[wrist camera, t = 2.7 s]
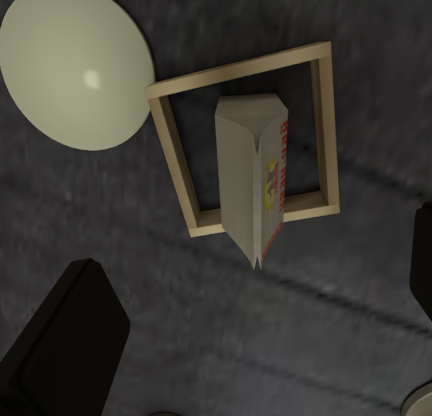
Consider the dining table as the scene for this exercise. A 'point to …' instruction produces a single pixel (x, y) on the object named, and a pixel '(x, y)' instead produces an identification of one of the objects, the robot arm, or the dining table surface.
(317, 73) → the holder
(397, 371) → the dining table surface
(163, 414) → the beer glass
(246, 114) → the gable top carton
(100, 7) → the coaster
